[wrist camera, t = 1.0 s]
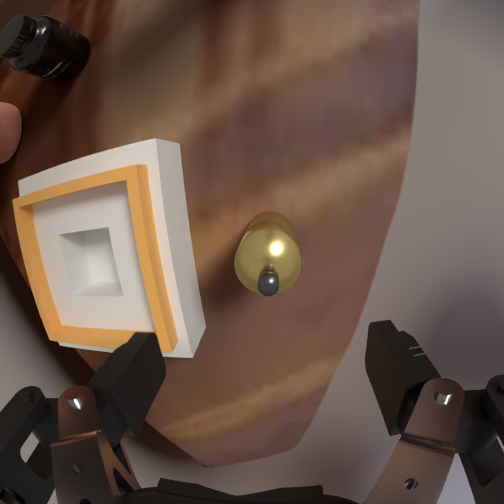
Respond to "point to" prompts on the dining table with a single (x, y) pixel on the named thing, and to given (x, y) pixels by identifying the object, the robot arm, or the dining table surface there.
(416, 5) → the dining table surface
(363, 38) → the dining table surface
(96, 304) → the white box with knob
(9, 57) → the supplement bottle
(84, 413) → the robot arm
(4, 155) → the decorative flower
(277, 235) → the oil can
